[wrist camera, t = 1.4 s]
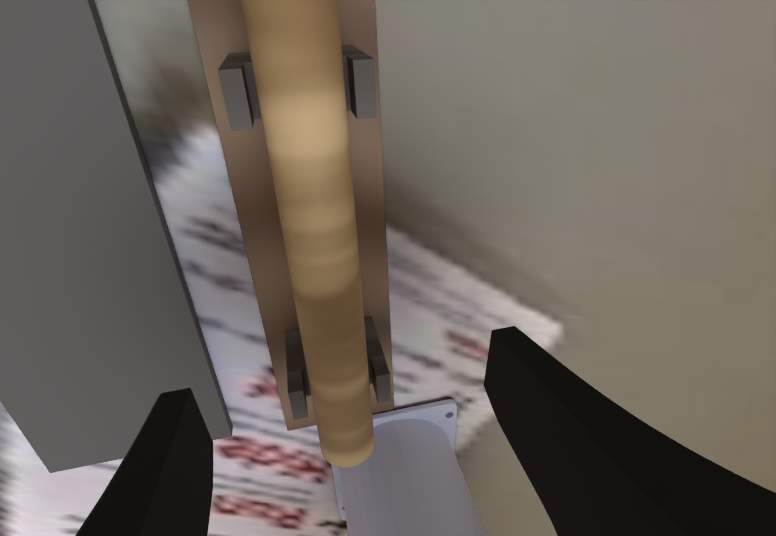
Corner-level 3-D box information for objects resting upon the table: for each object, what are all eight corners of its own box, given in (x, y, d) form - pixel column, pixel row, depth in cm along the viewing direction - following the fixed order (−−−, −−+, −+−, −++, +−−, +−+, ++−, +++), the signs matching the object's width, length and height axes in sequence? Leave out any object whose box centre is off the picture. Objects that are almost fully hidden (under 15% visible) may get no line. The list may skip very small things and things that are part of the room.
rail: (368, 417, 22) (379, 460, 20) (318, 428, 21) (324, 473, 19) (328, -33, 12) (340, -38, 10) (237, -29, 12) (231, -34, 10)
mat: (232, 427, 25) (231, 436, 25) (54, 462, 24) (50, 472, 23) (46, -145, 13) (37, -150, 12) (-353, -146, 11) (-382, -152, 11)
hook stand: (390, 396, 27) (412, 470, 23) (286, 416, 26) (290, 498, 22) (362, -144, 14) (401, -200, 10) (159, -145, 13) (110, -207, 9)
